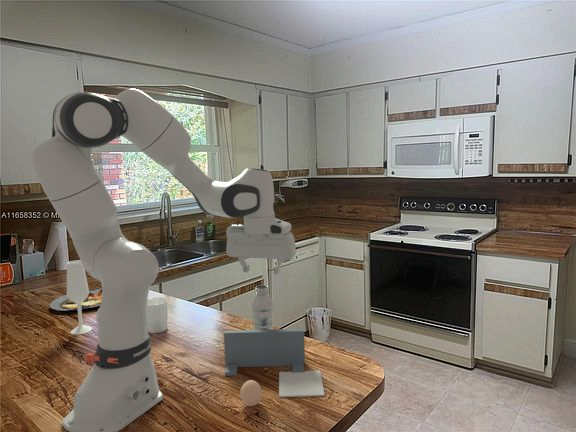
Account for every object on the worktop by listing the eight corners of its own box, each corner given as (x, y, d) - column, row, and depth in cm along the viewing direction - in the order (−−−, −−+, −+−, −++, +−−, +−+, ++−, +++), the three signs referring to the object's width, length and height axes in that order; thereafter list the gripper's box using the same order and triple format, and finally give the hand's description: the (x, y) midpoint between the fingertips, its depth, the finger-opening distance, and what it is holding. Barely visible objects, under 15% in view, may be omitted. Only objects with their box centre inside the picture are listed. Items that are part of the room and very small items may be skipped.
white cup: (173, 328, 139) (171, 300, 137) (152, 336, 133) (150, 307, 132) (161, 322, 144) (159, 295, 143) (140, 329, 138) (138, 301, 137)
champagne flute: (83, 335, 135) (76, 265, 131) (65, 333, 136) (58, 264, 133) (96, 326, 141) (90, 259, 138) (79, 325, 143) (73, 259, 139)
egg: (245, 396, 98) (244, 374, 97) (265, 400, 97) (264, 377, 96) (237, 409, 93) (236, 385, 92) (257, 412, 92) (256, 388, 91)
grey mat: (324, 396, 98) (324, 394, 98) (279, 397, 98) (278, 395, 97) (320, 372, 109) (320, 370, 109) (279, 373, 108) (279, 371, 108)
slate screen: (305, 373, 108) (305, 338, 107) (223, 375, 108) (221, 340, 106) (304, 362, 114) (303, 328, 113) (226, 364, 114) (224, 330, 112)
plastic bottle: (262, 345, 125) (260, 282, 122) (279, 351, 121) (277, 286, 118) (247, 352, 120) (245, 287, 117) (264, 359, 116) (262, 292, 113)
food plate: (121, 290, 181) (120, 282, 180) (117, 308, 159) (116, 300, 158) (58, 298, 173) (57, 290, 172) (44, 319, 151) (43, 310, 151)
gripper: (221, 226, 115) (223, 273, 117) (290, 228, 109) (292, 277, 111) (230, 222, 121) (232, 267, 123) (296, 224, 115) (297, 271, 117)
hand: (261, 272), depth 117 cm, fingers open, 8 cm apart
